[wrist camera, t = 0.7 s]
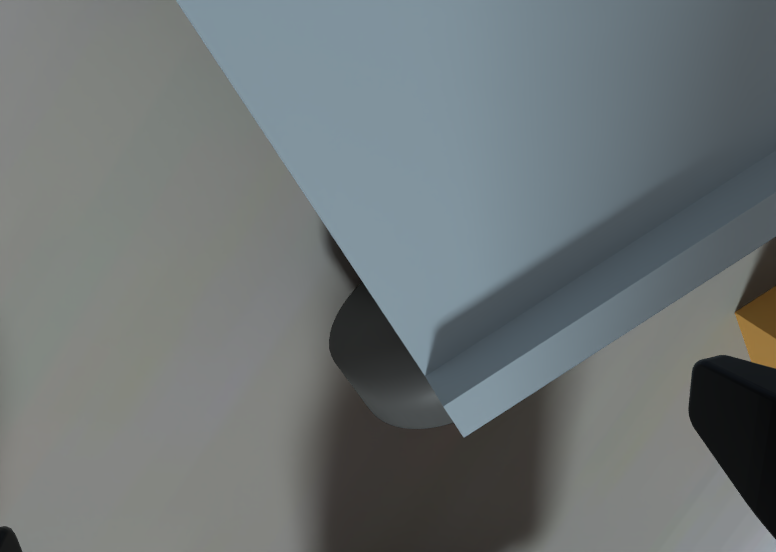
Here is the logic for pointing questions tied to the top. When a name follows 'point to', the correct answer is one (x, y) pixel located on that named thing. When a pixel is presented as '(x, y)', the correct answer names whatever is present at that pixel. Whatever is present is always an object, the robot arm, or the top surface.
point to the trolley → (509, 173)
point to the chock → (760, 328)
